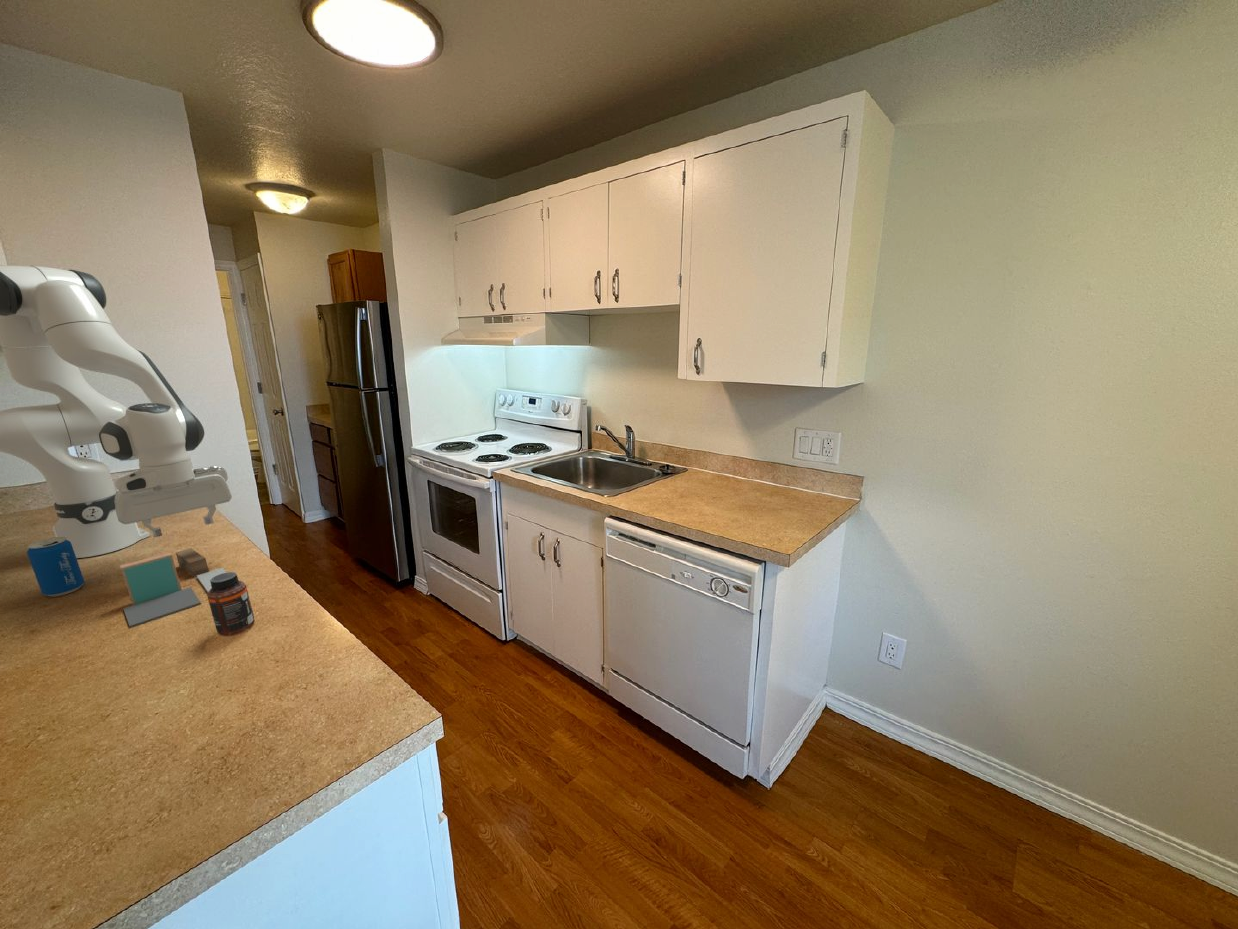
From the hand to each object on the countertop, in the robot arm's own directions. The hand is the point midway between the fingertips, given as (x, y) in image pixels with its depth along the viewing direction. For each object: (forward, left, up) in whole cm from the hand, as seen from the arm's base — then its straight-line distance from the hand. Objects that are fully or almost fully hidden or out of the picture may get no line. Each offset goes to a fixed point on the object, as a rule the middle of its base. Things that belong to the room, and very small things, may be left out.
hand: (184, 529), depth 116 cm
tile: (+9, -8, -11) cm, 16 cm away
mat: (+16, -8, -11) cm, 21 cm away
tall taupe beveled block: (-1, 0, -11) cm, 11 cm away
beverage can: (-11, -21, -11) cm, 26 cm away
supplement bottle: (+37, 0, -11) cm, 39 cm away
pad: (+11, +2, -11) cm, 16 cm away
